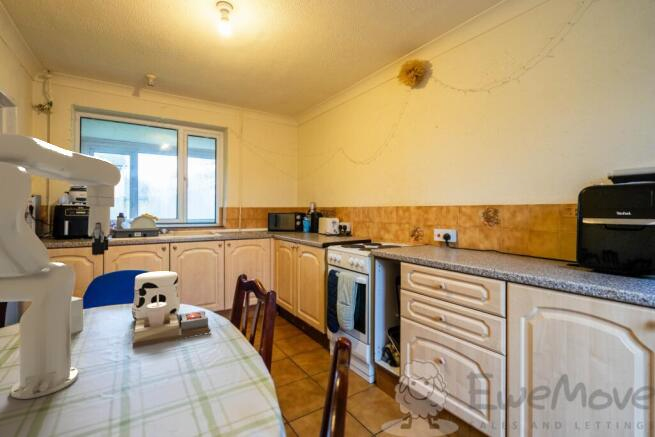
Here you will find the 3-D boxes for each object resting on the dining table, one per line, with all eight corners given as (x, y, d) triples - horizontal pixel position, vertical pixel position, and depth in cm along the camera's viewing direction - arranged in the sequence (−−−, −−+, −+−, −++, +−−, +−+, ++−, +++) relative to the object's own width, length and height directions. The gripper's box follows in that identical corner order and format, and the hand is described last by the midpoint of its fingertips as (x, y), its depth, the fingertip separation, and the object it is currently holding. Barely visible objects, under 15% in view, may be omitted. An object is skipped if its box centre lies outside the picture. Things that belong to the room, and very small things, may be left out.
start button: (201, 325, 111) (201, 316, 111) (186, 327, 108) (187, 319, 108) (199, 320, 115) (199, 312, 115) (185, 323, 113) (185, 314, 113)
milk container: (187, 311, 131) (187, 271, 130) (165, 326, 113) (165, 280, 113) (148, 310, 131) (149, 270, 130) (121, 325, 114) (121, 279, 113)
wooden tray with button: (210, 333, 108) (210, 320, 108) (132, 347, 96) (132, 332, 96) (204, 320, 121) (204, 308, 120) (135, 331, 108) (135, 318, 108)
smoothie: (170, 328, 109) (170, 290, 108) (158, 335, 102) (159, 296, 102) (154, 327, 109) (154, 289, 109) (141, 334, 103) (141, 295, 102)
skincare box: (58, 332, 106) (58, 299, 106) (72, 327, 110) (72, 296, 110) (70, 334, 104) (70, 301, 104) (83, 329, 109) (83, 298, 108)
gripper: (91, 202, 105) (91, 249, 106) (81, 202, 90) (81, 257, 91) (116, 203, 109) (116, 248, 110) (111, 202, 94) (110, 255, 95)
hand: (100, 252), depth 100 cm, fingers open, 9 cm apart
